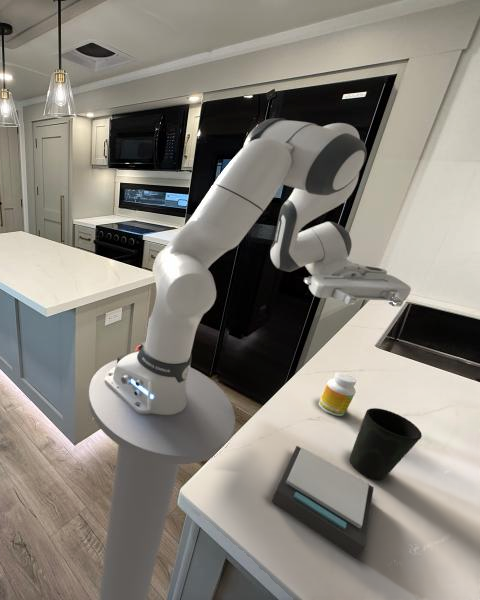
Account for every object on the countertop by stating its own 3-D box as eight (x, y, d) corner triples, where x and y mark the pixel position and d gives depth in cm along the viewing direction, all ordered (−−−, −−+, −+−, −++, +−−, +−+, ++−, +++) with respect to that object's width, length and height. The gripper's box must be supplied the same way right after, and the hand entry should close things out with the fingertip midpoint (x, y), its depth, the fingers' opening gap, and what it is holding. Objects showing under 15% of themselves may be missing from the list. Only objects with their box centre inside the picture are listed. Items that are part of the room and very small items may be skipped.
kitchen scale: (271, 501, 55) (277, 487, 53) (292, 455, 64) (297, 442, 63) (356, 558, 47) (366, 544, 46) (366, 498, 56) (375, 483, 55)
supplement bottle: (342, 420, 74) (358, 387, 70) (315, 407, 78) (329, 376, 74) (346, 409, 78) (362, 378, 74) (321, 398, 81) (334, 367, 77)
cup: (349, 445, 67) (372, 402, 62) (396, 471, 62) (425, 426, 57) (337, 463, 63) (361, 418, 58) (386, 493, 57) (417, 446, 53)
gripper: (304, 266, 85) (329, 289, 73) (391, 268, 81) (433, 292, 69) (297, 287, 88) (321, 311, 76) (381, 290, 84) (419, 316, 72)
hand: (375, 302), depth 72 cm, fingers open, 8 cm apart
